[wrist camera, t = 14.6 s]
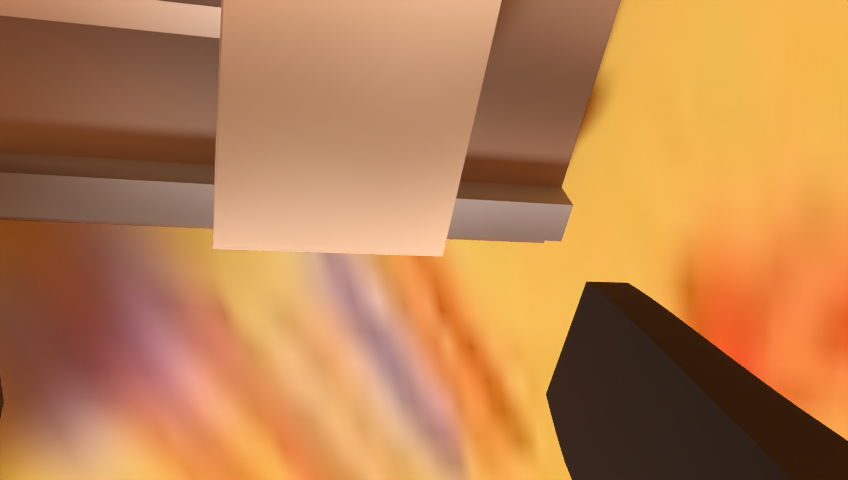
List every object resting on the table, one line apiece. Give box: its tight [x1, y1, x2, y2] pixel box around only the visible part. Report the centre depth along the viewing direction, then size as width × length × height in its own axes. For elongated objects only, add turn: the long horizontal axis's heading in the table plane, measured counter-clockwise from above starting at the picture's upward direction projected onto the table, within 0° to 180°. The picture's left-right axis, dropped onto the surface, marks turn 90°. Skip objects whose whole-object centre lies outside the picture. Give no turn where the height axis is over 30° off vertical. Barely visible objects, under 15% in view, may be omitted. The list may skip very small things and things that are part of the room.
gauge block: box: [213, 0, 502, 256], centre depth 14 cm, size 5×4×4 cm
